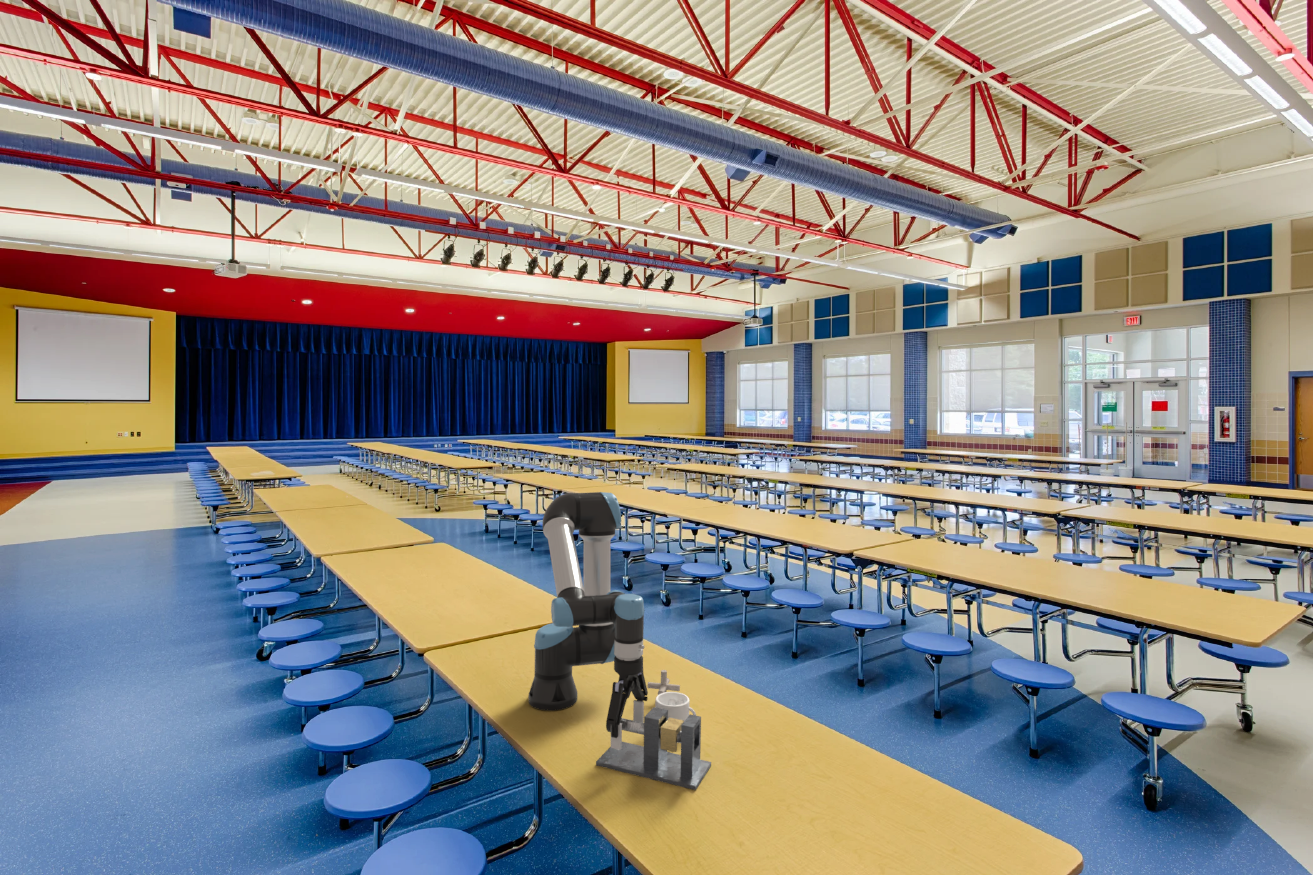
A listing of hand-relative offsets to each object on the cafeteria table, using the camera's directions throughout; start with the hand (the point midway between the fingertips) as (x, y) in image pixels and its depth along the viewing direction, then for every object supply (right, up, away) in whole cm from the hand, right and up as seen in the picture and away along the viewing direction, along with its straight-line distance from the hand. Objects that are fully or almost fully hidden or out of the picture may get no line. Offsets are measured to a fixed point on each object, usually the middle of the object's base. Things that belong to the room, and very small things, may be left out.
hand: (627, 736), depth 171 cm
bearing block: (+7, -6, -3) cm, 10 cm away
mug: (+13, -6, +16) cm, 22 cm away
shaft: (+6, 0, -2) cm, 6 cm away
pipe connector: (+10, -5, +34) cm, 36 cm away
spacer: (+12, 0, -5) cm, 12 cm away
